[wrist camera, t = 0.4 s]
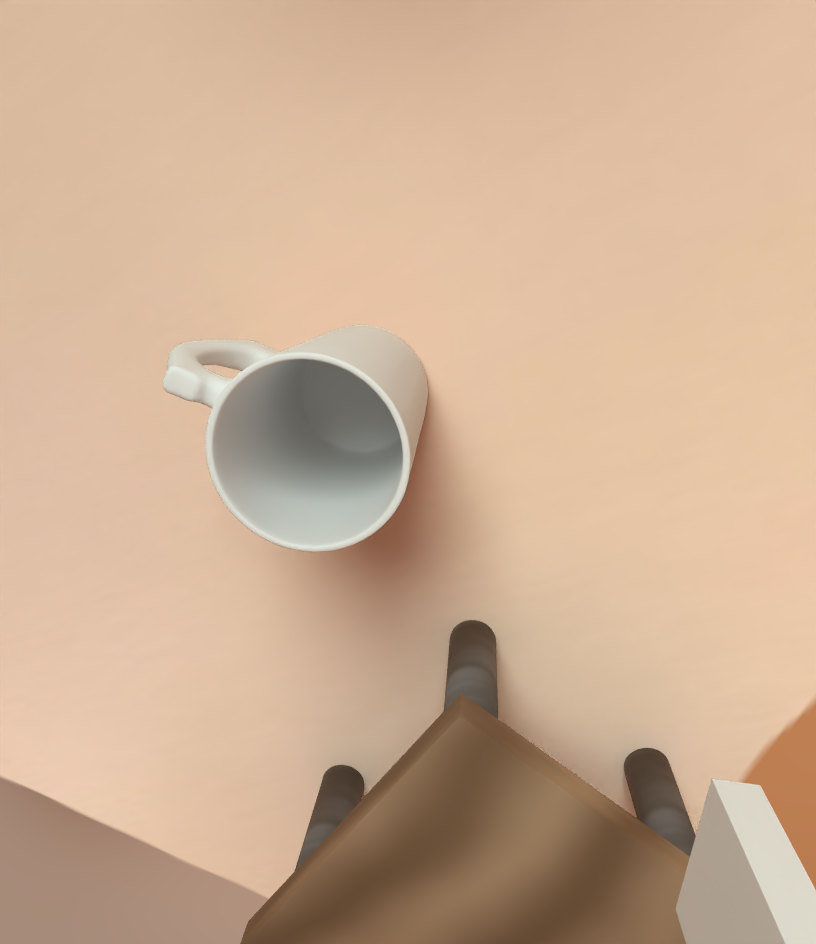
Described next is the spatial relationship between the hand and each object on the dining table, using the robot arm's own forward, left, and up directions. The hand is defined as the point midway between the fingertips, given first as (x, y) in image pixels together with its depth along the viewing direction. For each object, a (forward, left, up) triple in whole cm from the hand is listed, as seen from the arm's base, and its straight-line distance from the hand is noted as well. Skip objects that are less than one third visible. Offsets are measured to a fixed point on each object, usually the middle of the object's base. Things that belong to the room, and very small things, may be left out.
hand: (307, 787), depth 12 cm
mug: (-5, 0, -24) cm, 25 cm away
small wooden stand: (+15, -13, -24) cm, 31 cm away
